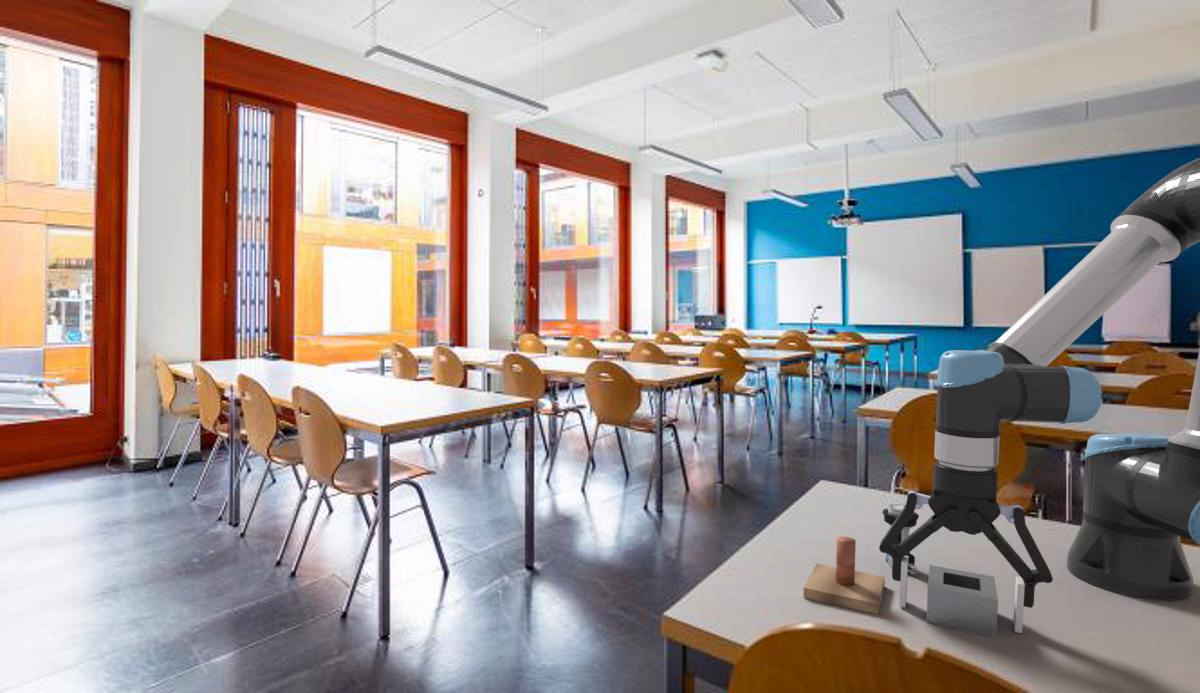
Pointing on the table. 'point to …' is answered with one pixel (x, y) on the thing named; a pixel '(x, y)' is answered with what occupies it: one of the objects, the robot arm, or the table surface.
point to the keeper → (845, 582)
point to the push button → (889, 518)
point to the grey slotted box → (962, 600)
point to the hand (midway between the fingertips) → (958, 615)
